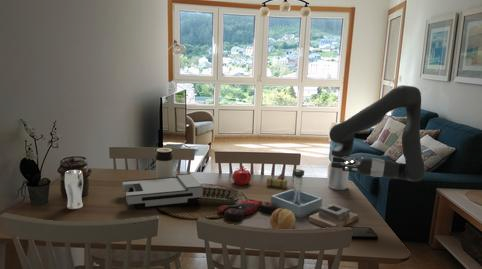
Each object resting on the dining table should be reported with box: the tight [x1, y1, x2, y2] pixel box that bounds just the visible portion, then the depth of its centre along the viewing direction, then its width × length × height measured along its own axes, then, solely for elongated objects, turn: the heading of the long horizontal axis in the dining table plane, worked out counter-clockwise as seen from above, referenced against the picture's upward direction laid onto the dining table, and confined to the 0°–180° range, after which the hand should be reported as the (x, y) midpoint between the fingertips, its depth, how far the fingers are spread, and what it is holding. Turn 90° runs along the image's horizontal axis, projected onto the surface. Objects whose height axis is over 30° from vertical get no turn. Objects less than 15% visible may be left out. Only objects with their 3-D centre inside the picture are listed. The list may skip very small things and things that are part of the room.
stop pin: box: [292, 168, 305, 206], centre depth 171 cm, size 5×5×16 cm
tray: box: [270, 188, 323, 219], centre depth 172 cm, size 16×16×5 cm
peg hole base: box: [308, 202, 359, 229], centre depth 161 cm, size 18×12×5 cm, turn 134°
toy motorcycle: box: [217, 199, 277, 222], centre depth 166 cm, size 25×5×16 cm
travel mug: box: [155, 147, 173, 178], centre depth 193 cm, size 8×8×18 cm
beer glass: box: [64, 169, 84, 210], centre depth 161 cm, size 7×7×15 cm
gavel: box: [266, 173, 288, 189], centre depth 207 cm, size 21×5×10 cm
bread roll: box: [269, 208, 297, 230], centre depth 149 cm, size 10×15×8 cm, turn 167°
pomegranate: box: [231, 165, 252, 186], centre depth 201 cm, size 10×10×9 cm
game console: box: [121, 172, 204, 211], centre depth 174 cm, size 21×32×8 cm, turn 113°
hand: (332, 161), depth 166 cm, fingers open, 8 cm apart
